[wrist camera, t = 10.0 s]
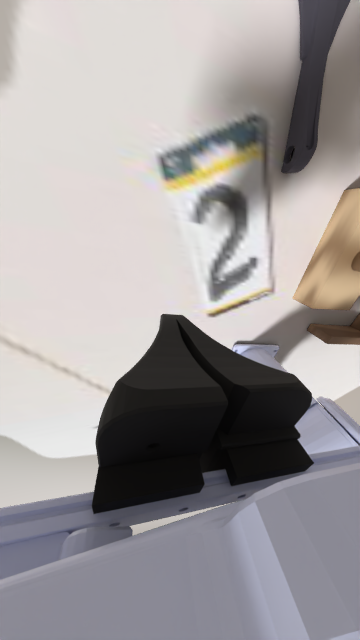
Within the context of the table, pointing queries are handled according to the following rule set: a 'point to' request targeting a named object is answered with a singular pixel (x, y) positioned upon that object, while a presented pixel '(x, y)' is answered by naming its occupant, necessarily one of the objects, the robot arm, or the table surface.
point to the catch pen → (337, 333)
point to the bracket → (311, 77)
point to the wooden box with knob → (335, 260)
